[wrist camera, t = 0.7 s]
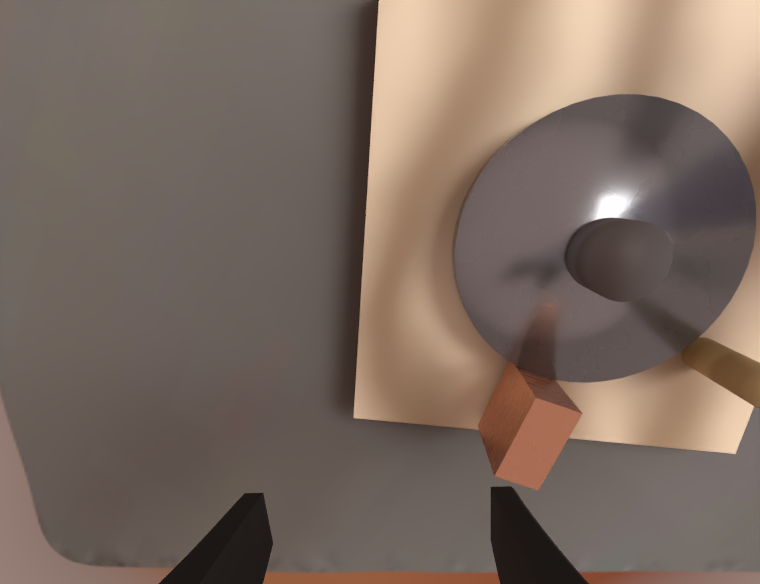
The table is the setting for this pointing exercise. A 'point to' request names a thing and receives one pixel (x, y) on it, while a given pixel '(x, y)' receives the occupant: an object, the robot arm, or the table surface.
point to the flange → (549, 258)
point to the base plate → (458, 133)
